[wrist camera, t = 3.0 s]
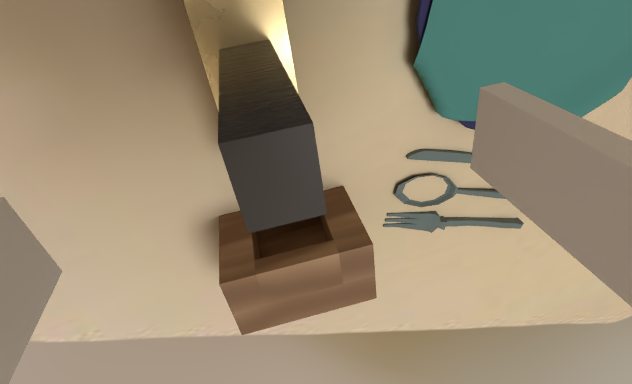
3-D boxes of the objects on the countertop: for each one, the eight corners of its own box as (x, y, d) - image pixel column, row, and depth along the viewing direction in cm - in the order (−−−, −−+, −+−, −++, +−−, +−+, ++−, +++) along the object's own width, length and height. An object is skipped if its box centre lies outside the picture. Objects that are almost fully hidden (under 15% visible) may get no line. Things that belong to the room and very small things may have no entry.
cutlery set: (765, -170, 22) (815, -179, 20) (523, 223, 38) (538, 238, 36) (482, -299, 16) (515, -328, 15) (341, 221, 33) (349, 238, 31)
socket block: (219, 216, 28) (219, 284, 23) (343, 186, 29) (372, 244, 24) (238, 264, 31) (241, 335, 26) (349, 236, 32) (376, 298, 27)
